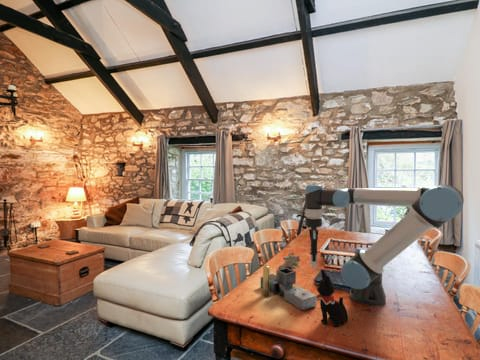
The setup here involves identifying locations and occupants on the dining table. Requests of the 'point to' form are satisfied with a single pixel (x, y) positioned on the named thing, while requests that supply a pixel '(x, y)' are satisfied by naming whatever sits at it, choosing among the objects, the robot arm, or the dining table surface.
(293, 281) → the hinge base
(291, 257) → the vertebra
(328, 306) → the figurine
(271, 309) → the dining table surface
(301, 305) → the grey flat block
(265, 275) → the pin
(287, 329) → the dining table surface
